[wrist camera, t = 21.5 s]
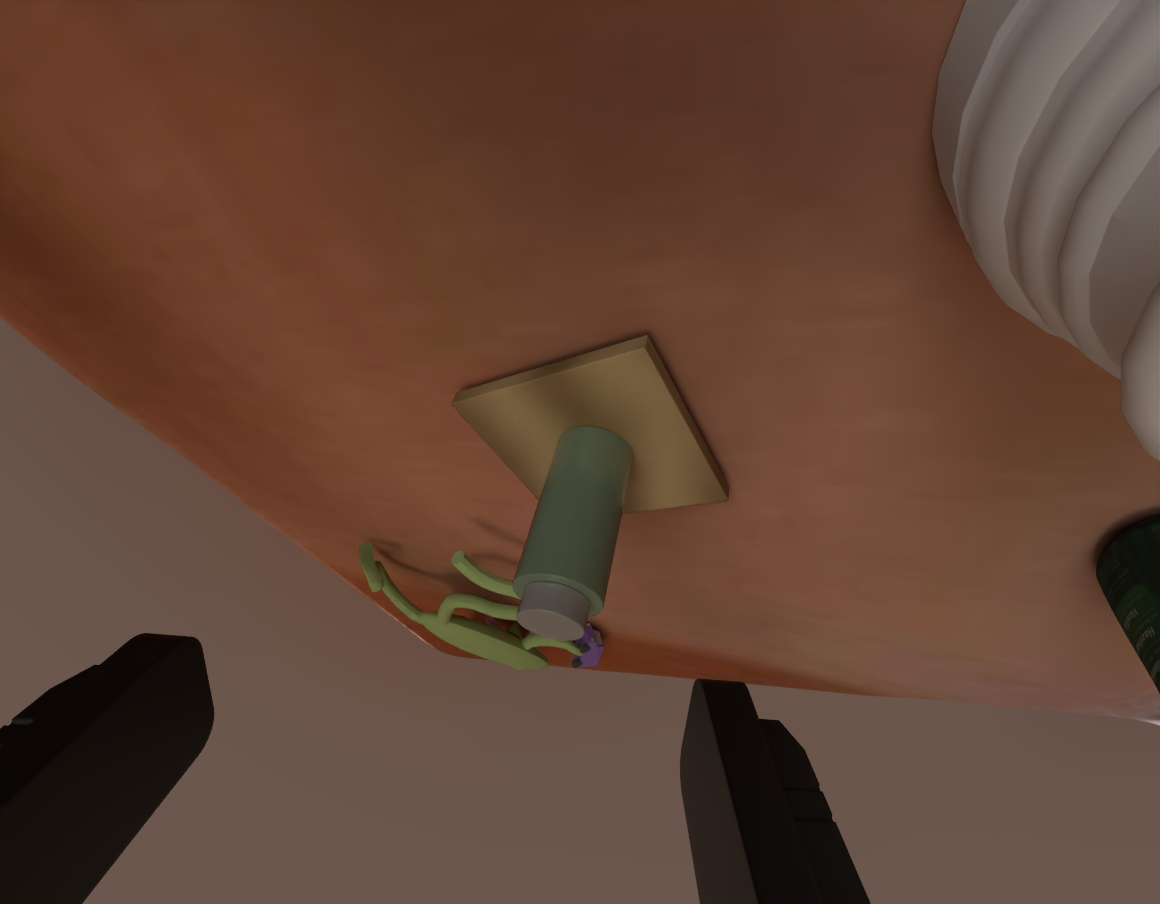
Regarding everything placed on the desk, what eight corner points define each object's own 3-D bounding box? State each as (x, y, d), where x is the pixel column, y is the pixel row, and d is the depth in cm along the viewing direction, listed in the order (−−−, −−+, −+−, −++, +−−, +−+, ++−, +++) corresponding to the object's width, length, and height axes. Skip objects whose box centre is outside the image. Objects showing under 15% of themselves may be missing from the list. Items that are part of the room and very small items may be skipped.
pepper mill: (580, 480, 34) (536, 646, 27) (543, 434, 31) (484, 605, 25) (645, 469, 31) (614, 646, 25) (611, 418, 29) (566, 602, 22)
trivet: (563, 506, 39) (558, 522, 38) (458, 387, 32) (450, 404, 31) (730, 482, 33) (729, 501, 32) (648, 328, 26) (644, 347, 25)
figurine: (520, 511, 41) (497, 579, 37) (631, 656, 58) (622, 710, 55) (341, 520, 49) (308, 577, 45) (487, 645, 66) (471, 693, 63)
